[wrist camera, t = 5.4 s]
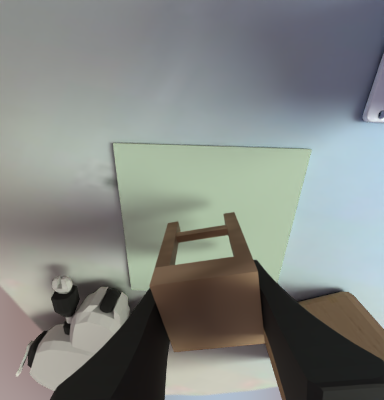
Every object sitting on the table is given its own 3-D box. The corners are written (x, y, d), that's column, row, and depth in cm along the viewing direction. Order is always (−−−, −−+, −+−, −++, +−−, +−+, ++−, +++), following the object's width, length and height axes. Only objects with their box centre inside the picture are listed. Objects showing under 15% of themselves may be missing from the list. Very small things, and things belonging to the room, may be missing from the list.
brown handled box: (234, 212, 14) (257, 271, 9) (241, 265, 16) (264, 343, 10) (167, 223, 15) (149, 285, 9) (182, 273, 16) (174, 352, 11)
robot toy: (68, 253, 21) (40, 343, 25) (35, 284, 16) (8, 387, 21) (173, 292, 22) (130, 370, 27) (168, 329, 18) (118, 415, 22)
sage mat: (308, 148, 15) (311, 149, 14) (272, 293, 21) (273, 296, 20) (114, 142, 15) (112, 143, 15) (132, 287, 21) (131, 290, 20)
